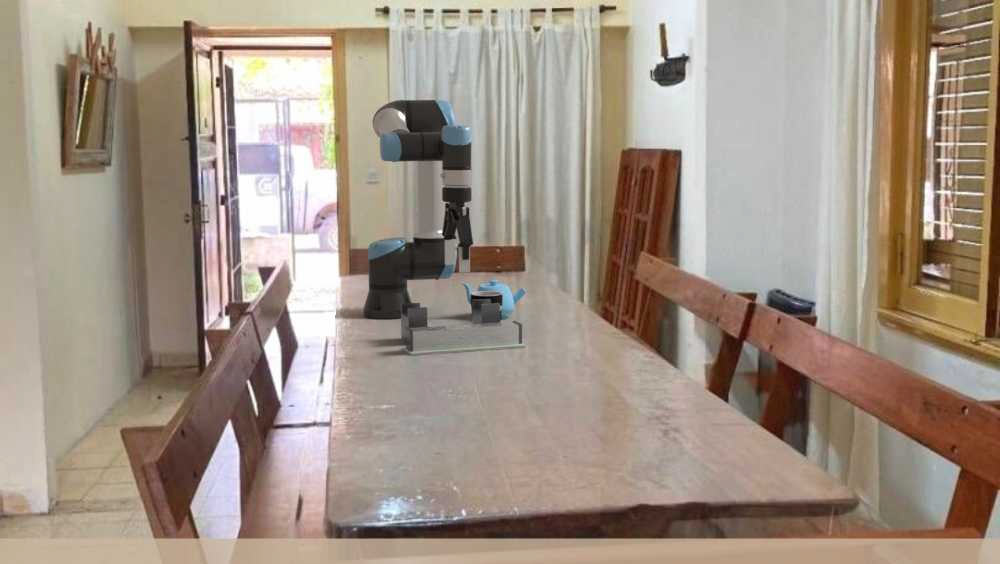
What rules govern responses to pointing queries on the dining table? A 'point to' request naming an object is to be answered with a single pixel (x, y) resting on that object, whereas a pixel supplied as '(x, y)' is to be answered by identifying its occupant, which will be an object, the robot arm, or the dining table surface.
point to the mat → (464, 349)
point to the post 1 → (412, 317)
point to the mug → (488, 297)
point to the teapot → (504, 289)
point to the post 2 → (485, 311)
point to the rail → (463, 336)
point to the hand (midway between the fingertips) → (457, 268)
